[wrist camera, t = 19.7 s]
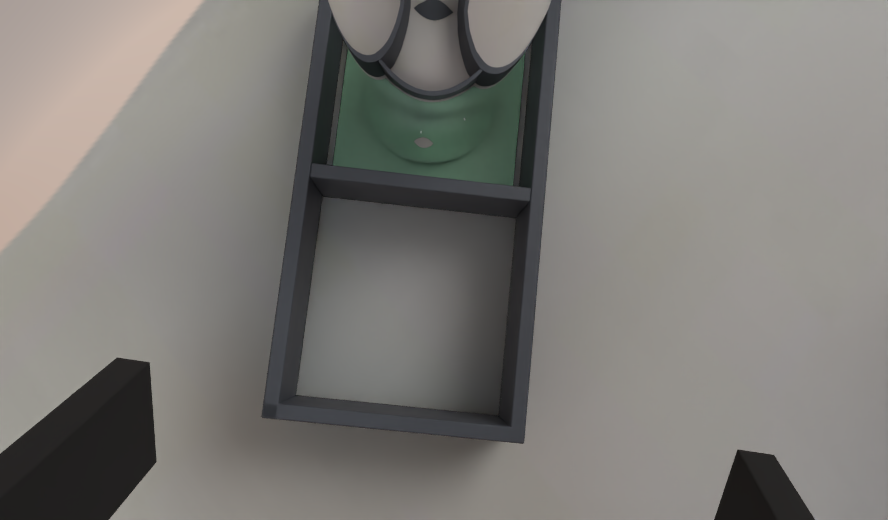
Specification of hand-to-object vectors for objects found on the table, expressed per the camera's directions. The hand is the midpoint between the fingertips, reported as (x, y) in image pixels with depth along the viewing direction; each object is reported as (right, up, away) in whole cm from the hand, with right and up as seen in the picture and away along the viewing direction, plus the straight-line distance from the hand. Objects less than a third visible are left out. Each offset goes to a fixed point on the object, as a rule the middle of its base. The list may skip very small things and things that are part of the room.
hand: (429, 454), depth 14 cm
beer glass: (0, +12, +15) cm, 19 cm away
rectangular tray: (-1, +7, +15) cm, 16 cm away
